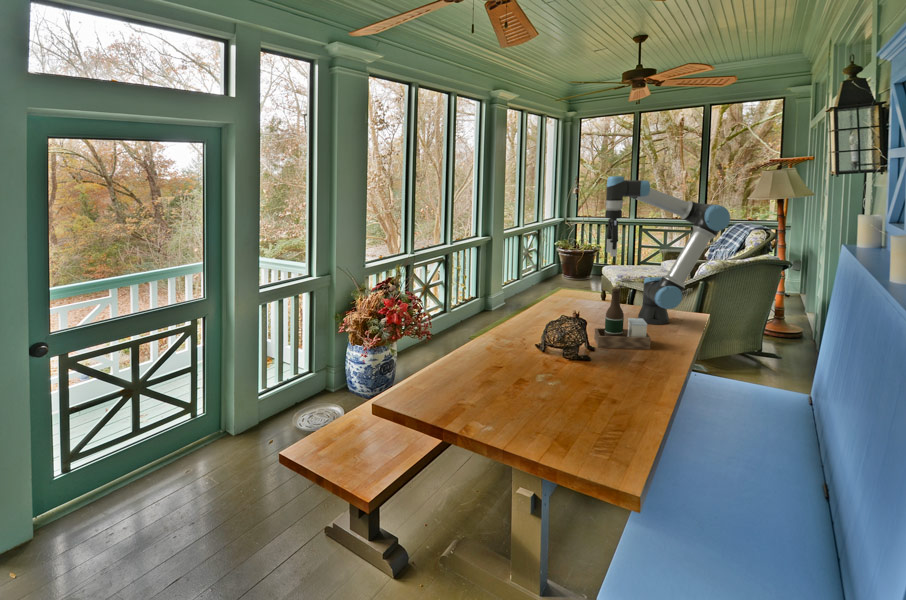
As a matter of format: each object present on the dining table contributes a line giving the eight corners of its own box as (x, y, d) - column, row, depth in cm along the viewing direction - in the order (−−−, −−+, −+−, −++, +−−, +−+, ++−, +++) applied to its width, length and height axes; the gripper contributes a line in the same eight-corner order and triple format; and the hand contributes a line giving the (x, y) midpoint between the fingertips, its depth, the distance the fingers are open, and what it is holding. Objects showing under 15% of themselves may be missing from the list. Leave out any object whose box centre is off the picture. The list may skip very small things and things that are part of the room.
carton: (641, 338, 249) (642, 318, 246) (646, 345, 238) (647, 324, 236) (626, 338, 249) (628, 318, 247) (630, 345, 239) (632, 324, 237)
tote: (643, 340, 250) (644, 329, 249) (649, 349, 237) (650, 338, 236) (594, 338, 253) (594, 328, 252) (597, 347, 240) (598, 336, 239)
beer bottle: (612, 344, 240) (615, 291, 235) (600, 340, 247) (603, 288, 242) (626, 342, 244) (629, 289, 238) (613, 337, 250) (616, 286, 245)
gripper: (602, 208, 271) (600, 250, 275) (609, 211, 247) (606, 257, 251) (617, 208, 270) (615, 251, 274) (626, 211, 246) (623, 258, 250)
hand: (611, 254), depth 263 cm, fingers open, 13 cm apart
